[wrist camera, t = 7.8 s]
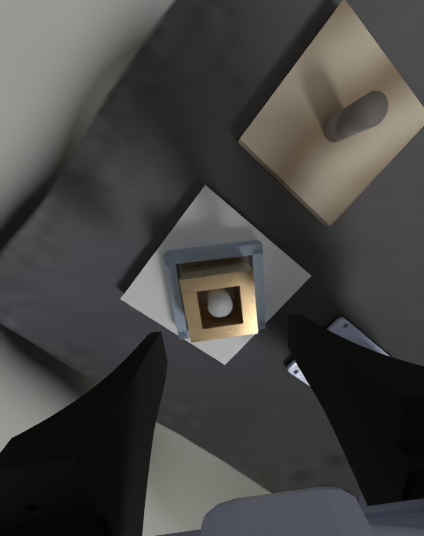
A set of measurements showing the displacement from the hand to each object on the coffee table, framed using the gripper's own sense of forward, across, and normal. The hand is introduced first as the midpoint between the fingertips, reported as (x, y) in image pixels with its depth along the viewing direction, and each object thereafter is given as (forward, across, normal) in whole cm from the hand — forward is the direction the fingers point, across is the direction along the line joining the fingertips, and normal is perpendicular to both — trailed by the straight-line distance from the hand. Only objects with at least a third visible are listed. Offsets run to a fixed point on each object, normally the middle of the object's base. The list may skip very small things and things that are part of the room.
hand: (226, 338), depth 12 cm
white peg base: (+8, 0, 0) cm, 8 cm away
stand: (+8, -10, -11) cm, 17 cm away
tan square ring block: (+7, 0, 0) cm, 7 cm away
